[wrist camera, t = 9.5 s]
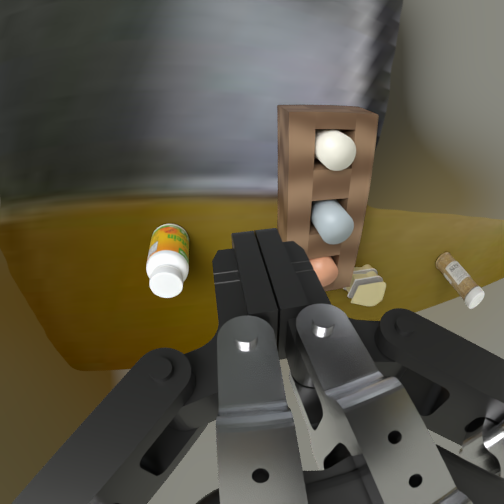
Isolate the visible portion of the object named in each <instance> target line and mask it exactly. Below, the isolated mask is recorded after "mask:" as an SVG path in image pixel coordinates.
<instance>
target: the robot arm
mask: <svg viewBox="0 0 504 504" xmlns="http://www.w3.org/2000/svg"><path fill="white" fill-rule="evenodd" d="M232 246H233V249H226V250H218V251H217V253H216V255H215V257H214V259H213V261H212V262H213V272H214V282H215V292H216V301H217V310H218V319H219V326H218V330H217V333H216V334H215V336H214V337H213V338H212V340H211V341H210V342H208V343H207V344H206V345H204V346H203V347H201V348H199V349H196V350H194V351H191V352H189V353H186V354H182V353H181V352H180V351H177V350H175V349H171V348H159V349H155V350H152V351H150V352H148V353H147V354H145V355H144V356H143V357H142V358H141V359H140V360H139V361H138V362H137V363H136V364H135V365H134V366H133V367H132V369H131V370H130V371H129V372H128V373H127V374H126V375H125V376H124V378H122V380H121V381H120V382H119V383H118V384H117V385H116V386H115V387H114V388H113V389H112V391H111V392H110V393H109V394H108V395H107V396H106V397H105V398H104V399H103V401H102V402H101V403H100V404H99V405H98V406H97V407H96V408H95V410H94V411H93V412H92V413H91V414H90V415H89V416H88V417H87V418H86V420H85V421H84V422H83V423H82V424H81V426H79V427H78V428H77V430H76V431H75V432H74V433H73V434H72V435H71V436H70V438H69V439H68V440H67V441H66V442H65V443H64V444H63V445H62V446H61V448H60V449H59V450H58V451H57V452H56V453H55V454H54V456H53V457H52V458H51V459H50V460H49V461H48V462H47V464H46V465H45V466H44V467H43V468H42V469H41V470H40V471H39V473H38V474H37V475H36V476H35V477H34V478H33V479H32V481H31V482H30V483H29V484H28V485H27V486H26V488H25V489H24V490H23V491H22V492H21V493H20V494H19V496H18V497H17V498H16V499H15V500H14V501H13V503H12V504H147V503H148V502H149V500H150V499H151V498H152V497H153V495H154V494H155V493H156V492H157V490H158V489H159V488H160V487H161V486H162V484H163V483H164V481H166V479H167V478H168V477H169V475H170V474H171V473H172V471H173V470H174V469H175V468H176V466H177V465H178V464H179V463H180V461H181V460H182V459H183V457H184V456H185V455H186V453H187V452H188V451H189V449H190V448H191V447H192V445H193V444H194V443H195V441H196V440H197V439H198V437H199V436H200V435H201V433H202V432H203V430H204V429H205V428H206V426H207V425H208V423H210V422H212V421H214V420H216V442H217V463H218V480H219V488H218V489H216V490H214V491H212V492H211V493H209V494H207V495H206V496H205V497H203V498H202V499H201V500H199V501H198V502H197V503H196V504H504V359H502V358H500V357H498V356H496V355H494V354H492V353H491V352H489V351H487V350H485V349H483V348H481V347H479V346H477V345H476V344H474V343H472V342H470V341H468V340H466V339H464V338H462V337H460V336H459V335H457V334H455V333H453V332H451V331H449V330H447V329H445V328H443V327H441V326H439V325H437V324H435V323H434V322H432V321H430V320H428V319H425V318H424V317H422V316H420V315H418V314H416V313H414V312H412V311H410V310H407V309H392V310H390V311H388V312H386V313H385V314H384V315H383V316H382V318H381V321H365V320H355V319H350V318H348V317H347V316H346V314H345V313H344V312H343V311H342V310H340V309H339V308H337V307H335V306H333V305H331V303H330V301H329V299H328V297H327V295H326V293H325V291H324V289H323V287H322V285H321V282H320V280H319V278H318V276H317V274H316V272H315V271H314V268H313V266H312V264H311V262H309V258H308V256H307V254H306V252H305V250H304V249H303V248H302V247H301V246H299V245H298V244H297V243H295V242H294V241H288V242H282V239H281V237H280V235H279V232H278V230H277V229H276V228H272V229H264V230H256V231H248V232H240V233H232ZM285 358H287V360H288V364H289V367H290V373H289V380H290V383H291V386H292V388H293V391H294V394H295V396H296V399H297V402H298V404H299V407H300V410H301V412H302V415H303V417H304V420H305V423H306V425H307V428H308V431H309V435H310V444H311V449H312V453H313V456H314V458H315V461H316V464H317V466H318V469H319V471H303V470H302V465H301V459H300V453H299V447H298V442H297V436H296V431H295V425H294V420H293V416H292V412H291V410H290V408H289V407H288V405H287V401H286V396H285V391H284V385H283V379H282V373H281V367H280V361H279V360H280V359H285ZM427 429H429V430H431V431H433V432H435V433H437V434H439V435H441V436H443V437H445V438H447V439H449V440H451V441H453V442H455V443H457V444H459V445H461V446H462V448H461V449H460V451H459V456H457V455H455V454H453V453H451V452H450V451H448V450H446V449H444V448H442V447H440V446H438V445H436V444H435V443H434V441H433V439H432V437H431V435H430V433H429V431H428V430H427Z"/></svg>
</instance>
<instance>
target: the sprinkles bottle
mask: <svg viewBox="0 0 504 504" xmlns="http://www.w3.org/2000/svg"><path fill="white" fill-rule="evenodd" d="M436 268H437V269H439V270H440V271H441V273H442V274H443V275H444V277H445V278H446V279H447V280H448V281H449V283H450V284H451V285H452V286H453V287H454V288H455V290H456V291H457V292H458V293H459V295H460V296H461V297H462V298H463V299H464V301H465V304H466V305H467V306H468V308H470V309H472V308H474V307H476V306H477V305H478V304H479V303H480V302H481V301H482V299H483V297H484V292H483V290H482V289H481V287H479V286H478V285H477V284H476V283H475V282H474V280H473V279H472V278H471V276H470V275H469V274H468V273H467V272H466V271H465V270H464V268H463V267H462V266H461V265H460V264H459V263H458V262H457V261H456V260H455V259H454V258H453V257H452V256H451V254H450V253H449V252H445V253H443V254H441V255H440V256H439V258H438V259H437V261H436Z"/></svg>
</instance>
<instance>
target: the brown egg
mask: <svg viewBox="0 0 504 504" xmlns="http://www.w3.org/2000/svg"><path fill="white" fill-rule="evenodd" d="M309 262H311V264H312V266H313V268H314V271H315V272H316V274H317V276H318V278H319V280H320V282H321V285H322V287H324V286H327V285H329V284H331V283H332V282H333V281H334V280H335V279H336V278H337V276H338V268H337V266H336V264H335V263H334V261H333V259H332V258H331V256H327V257H320V258H313V259H309Z"/></svg>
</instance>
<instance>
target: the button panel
mask: <svg viewBox="0 0 504 504" xmlns="http://www.w3.org/2000/svg"><path fill="white" fill-rule="evenodd" d="M277 110H278V232H279V235H280V237H281V239H282V242H288V241H294V242H295V243H297V244H298V245H299V246H301V247H302V248H303V249H304V250H305V252H306V254H307V256H308V258H309V259H313V258H320V257H327V256H331V258H332V259H333V261H334V263H335V264H336V266H337V268H338V276H337V278H336V279H335V280H334V281H333V282H332V283H331V284H329V285H327V286H324V287H323V289H324V291H329V290H335V289H340V288H345V287H350V284H351V280H352V275H353V271H354V267H355V262H356V258H357V253H358V249H359V244H360V239H361V234H362V229H363V224H364V218H365V213H366V207H367V201H368V195H369V188H370V182H371V175H372V168H373V161H374V153H375V145H376V135H377V126H378V114H375V113H373V112H370V111H368V110H365V109H363V108H360V107H353V106H334V105H277ZM315 129H336V130H338V131H340V132H342V133H343V134H345V135H347V136H348V137H350V138H351V139H352V140H353V142H354V143H355V146H356V155H355V158H354V161H353V162H352V164H351V165H350V166H348V167H347V168H346V169H343V170H340V171H333V170H330V169H328V168H327V167H326V166H325V165H324V164H323V163H321V162H320V161H319V160H318V159H317V158H316V157H315V156H314V153H315ZM331 199H336V200H337V201H338V202H339V204H340V205H341V206H342V207H343V208H344V210H345V211H346V212H347V213H348V214H349V215H350V217H351V218H352V219H353V222H354V228H353V231H352V233H351V235H350V236H349V237H348V238H347V239H346V240H345V241H343V242H341V243H339V244H328V243H326V242H325V241H324V240H323V239H322V238H321V236H320V234H319V233H318V231H317V229H316V228H315V226H314V225H313V223H312V222H311V220H310V217H311V204H312V201H319V200H331Z"/></svg>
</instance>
